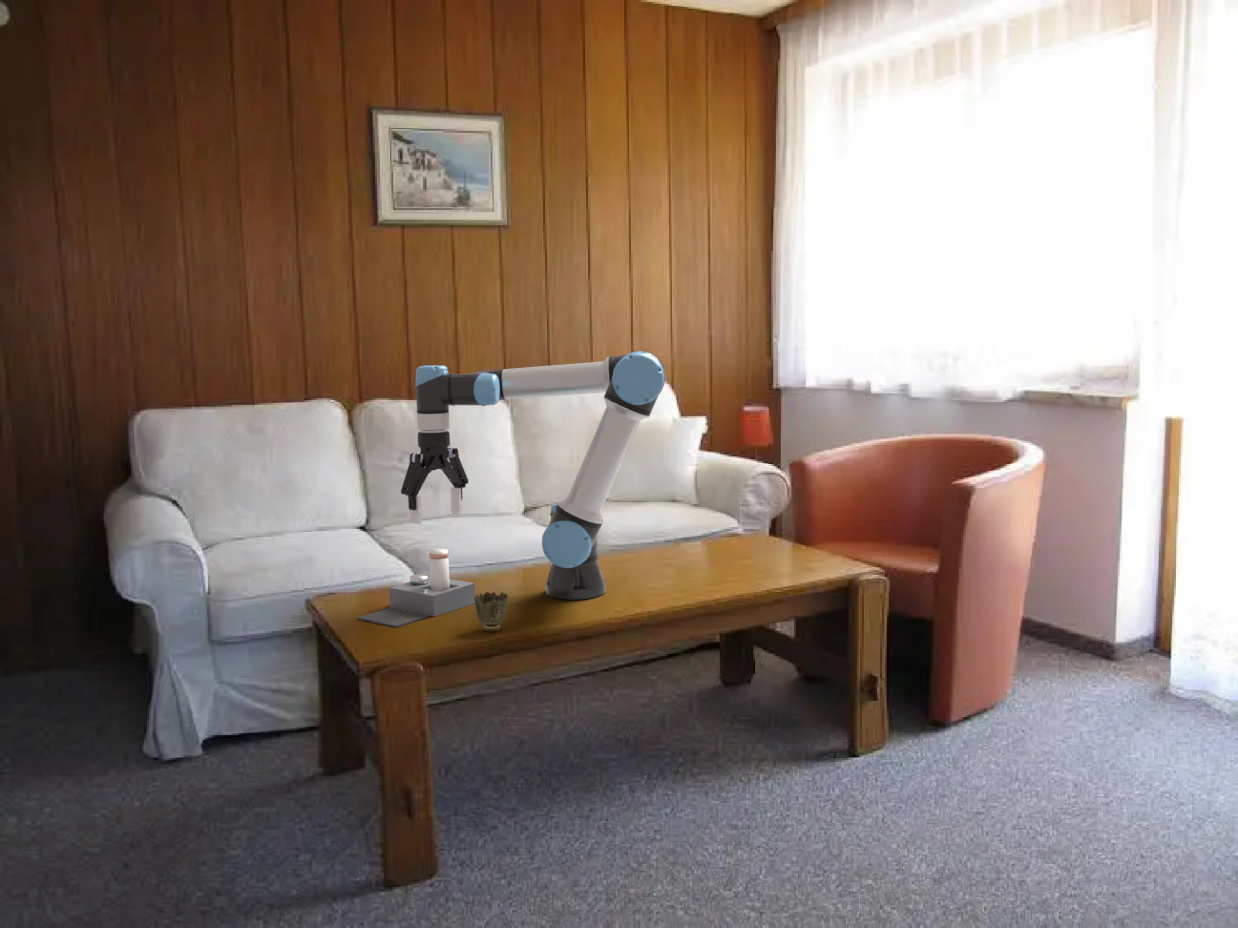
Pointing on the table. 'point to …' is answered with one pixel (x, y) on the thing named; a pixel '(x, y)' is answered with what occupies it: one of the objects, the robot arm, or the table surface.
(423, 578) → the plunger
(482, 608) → the cup
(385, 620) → the mat
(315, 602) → the table surface
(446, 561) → the cylinder
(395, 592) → the housing
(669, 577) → the table surface
